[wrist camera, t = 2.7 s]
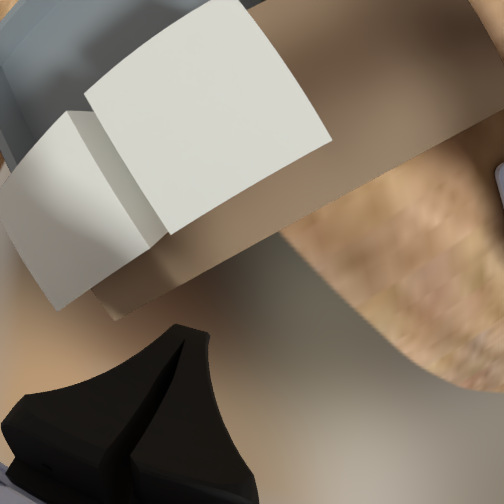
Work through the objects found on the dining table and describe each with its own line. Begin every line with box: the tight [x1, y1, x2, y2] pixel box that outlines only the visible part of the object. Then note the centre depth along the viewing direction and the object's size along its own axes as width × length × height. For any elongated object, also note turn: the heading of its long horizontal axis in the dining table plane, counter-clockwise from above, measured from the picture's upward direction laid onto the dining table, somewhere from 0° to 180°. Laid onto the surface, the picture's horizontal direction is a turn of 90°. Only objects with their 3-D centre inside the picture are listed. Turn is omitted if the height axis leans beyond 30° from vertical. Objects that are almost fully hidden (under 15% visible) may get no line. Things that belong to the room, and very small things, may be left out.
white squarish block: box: [0, 111, 168, 312], centre depth 10 cm, size 4×4×3 cm
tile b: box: [84, 0, 332, 235], centre depth 8 cm, size 4×4×3 cm
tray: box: [0, 0, 266, 173], centre depth 10 cm, size 9×13×2 cm, turn 121°
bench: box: [90, 0, 504, 321], centre depth 11 cm, size 7×19×3 cm, turn 121°
